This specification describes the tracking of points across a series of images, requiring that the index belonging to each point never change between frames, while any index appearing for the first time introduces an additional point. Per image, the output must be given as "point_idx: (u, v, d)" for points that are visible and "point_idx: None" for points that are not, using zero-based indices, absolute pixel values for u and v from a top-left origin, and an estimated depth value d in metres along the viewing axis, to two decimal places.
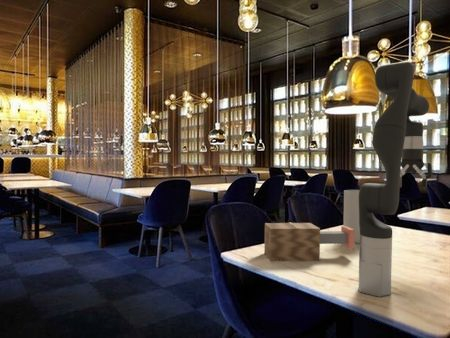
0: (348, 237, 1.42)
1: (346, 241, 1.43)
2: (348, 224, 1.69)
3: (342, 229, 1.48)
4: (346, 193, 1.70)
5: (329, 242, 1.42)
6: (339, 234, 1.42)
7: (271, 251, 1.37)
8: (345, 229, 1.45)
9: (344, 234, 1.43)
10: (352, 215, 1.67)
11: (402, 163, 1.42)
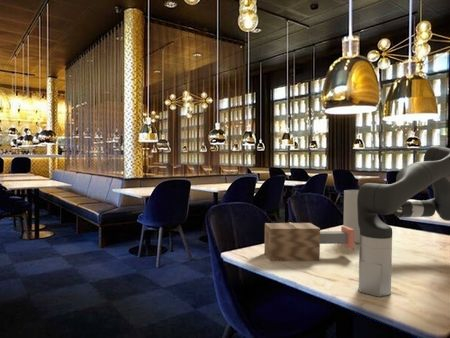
0: (348, 237, 1.42)
1: (346, 241, 1.43)
2: (348, 224, 1.69)
3: (342, 229, 1.48)
4: (346, 193, 1.70)
5: (329, 242, 1.42)
6: (339, 234, 1.42)
7: (271, 251, 1.37)
8: (345, 229, 1.45)
9: (344, 234, 1.43)
10: (352, 215, 1.67)
11: None
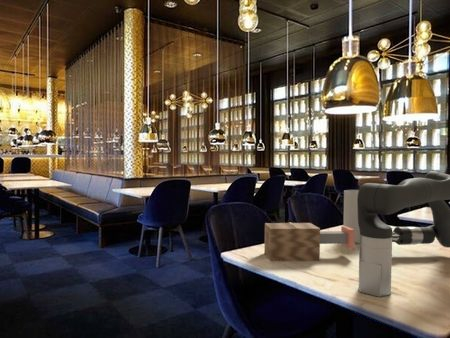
0: (348, 237, 1.42)
1: (346, 241, 1.43)
2: (348, 224, 1.69)
3: (342, 229, 1.48)
4: (346, 193, 1.70)
5: (329, 242, 1.42)
6: (339, 234, 1.42)
7: (271, 251, 1.37)
8: (345, 229, 1.45)
9: (344, 234, 1.43)
10: (352, 215, 1.67)
11: None
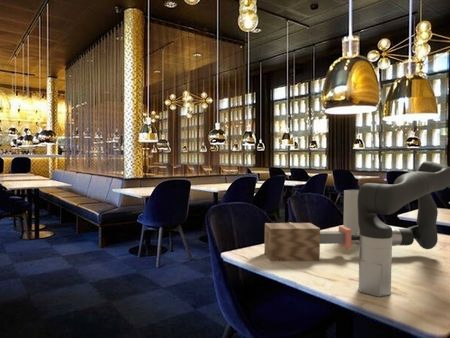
0: (345, 237, 1.42)
1: (343, 241, 1.43)
2: (348, 224, 1.69)
3: (339, 229, 1.48)
4: (346, 193, 1.70)
5: (326, 242, 1.42)
6: (336, 234, 1.42)
7: (271, 251, 1.37)
8: (342, 229, 1.45)
9: (341, 234, 1.43)
10: (352, 215, 1.67)
11: None
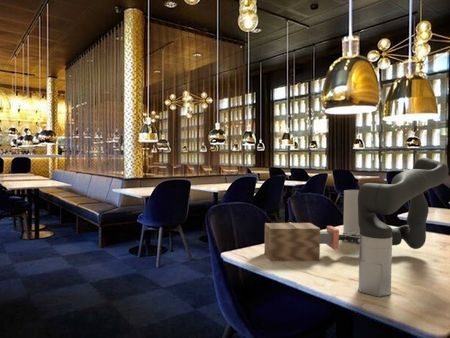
0: (333, 237, 1.41)
1: (331, 241, 1.42)
2: (348, 224, 1.69)
3: (327, 229, 1.47)
4: (346, 193, 1.70)
5: None
6: (324, 234, 1.42)
7: (271, 251, 1.37)
8: (330, 229, 1.44)
9: (329, 234, 1.42)
10: (352, 215, 1.67)
11: None
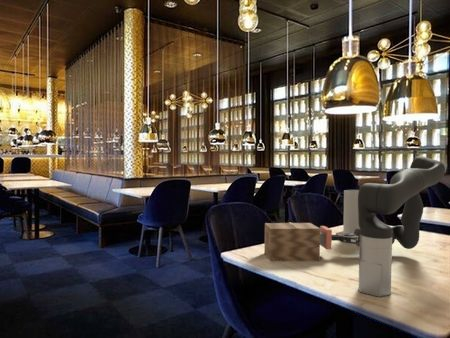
0: (326, 237, 1.41)
1: (324, 241, 1.42)
2: (348, 224, 1.69)
3: (320, 229, 1.47)
4: (346, 193, 1.70)
5: None
6: None
7: (271, 251, 1.37)
8: (323, 229, 1.44)
9: (322, 234, 1.42)
10: (352, 215, 1.67)
11: None
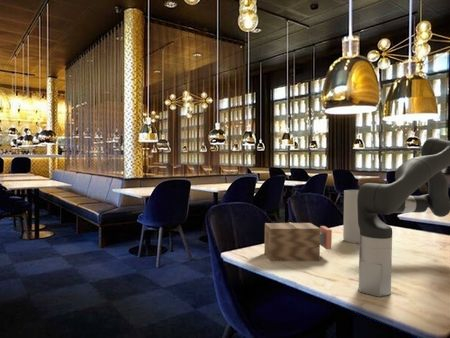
0: (326, 237, 1.41)
1: (324, 241, 1.42)
2: (348, 224, 1.69)
3: (320, 229, 1.47)
4: (346, 193, 1.70)
5: None
6: None
7: (271, 251, 1.37)
8: (323, 229, 1.44)
9: (322, 234, 1.42)
10: (352, 215, 1.67)
11: None
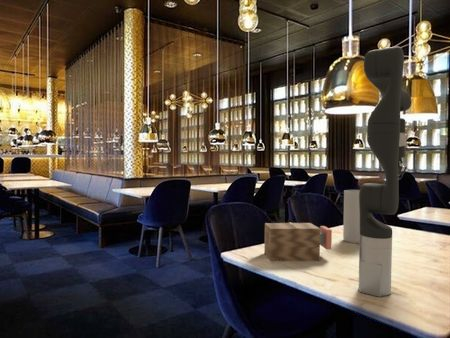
0: (326, 237, 1.41)
1: (324, 241, 1.42)
2: (348, 224, 1.69)
3: (320, 229, 1.47)
4: (346, 193, 1.70)
5: None
6: None
7: (271, 251, 1.37)
8: (323, 229, 1.44)
9: (322, 234, 1.42)
10: (352, 215, 1.67)
11: None
